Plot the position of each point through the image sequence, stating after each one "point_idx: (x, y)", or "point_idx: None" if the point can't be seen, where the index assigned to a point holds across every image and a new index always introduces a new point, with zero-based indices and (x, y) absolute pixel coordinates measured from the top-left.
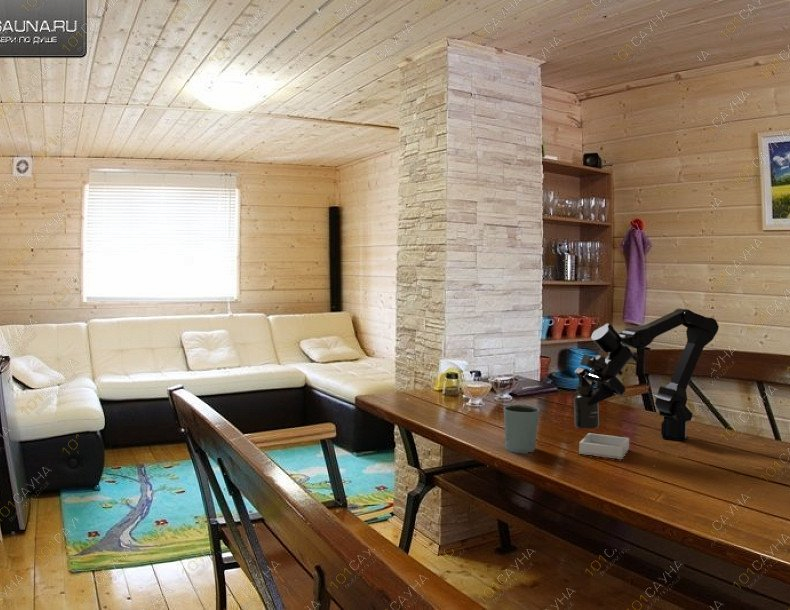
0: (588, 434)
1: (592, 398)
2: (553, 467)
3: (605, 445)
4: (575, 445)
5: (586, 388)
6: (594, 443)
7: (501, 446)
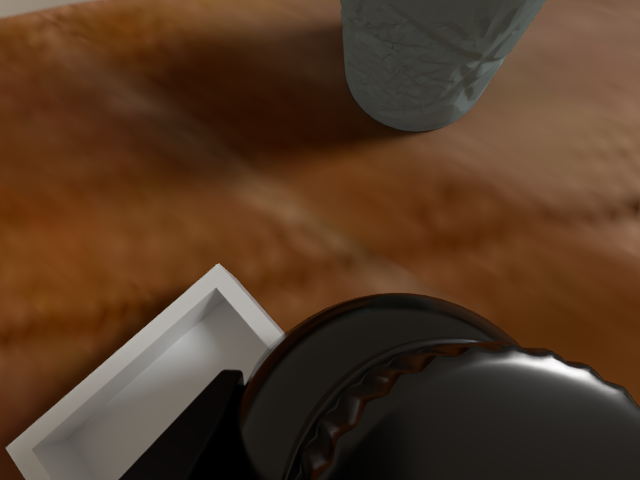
0: None
1: (158, 447)
2: (127, 74)
3: (99, 378)
4: None
5: (308, 464)
6: None
7: None
